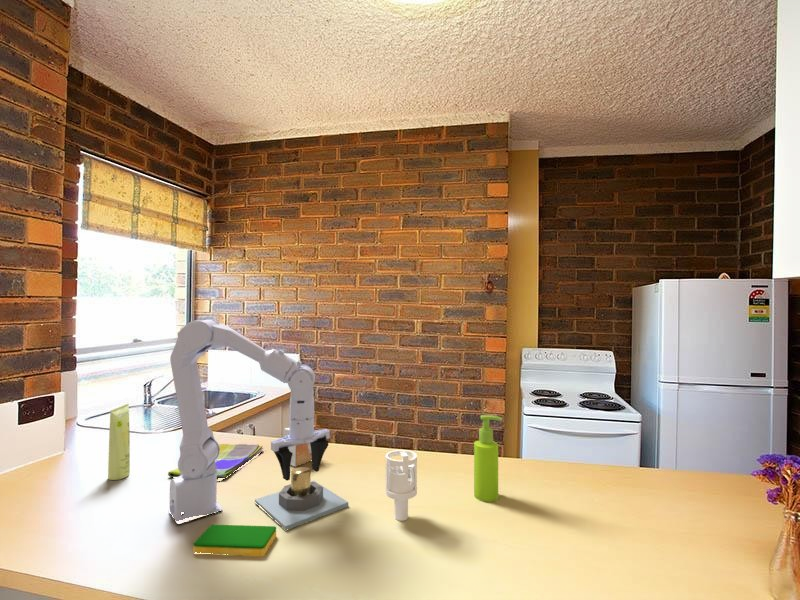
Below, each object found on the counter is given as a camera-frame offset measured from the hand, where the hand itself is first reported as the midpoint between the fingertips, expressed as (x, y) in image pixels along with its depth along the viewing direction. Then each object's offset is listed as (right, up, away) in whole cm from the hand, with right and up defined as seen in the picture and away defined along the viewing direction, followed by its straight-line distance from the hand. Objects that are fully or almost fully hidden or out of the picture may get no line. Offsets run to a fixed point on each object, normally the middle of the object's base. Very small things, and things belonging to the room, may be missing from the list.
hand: (301, 474), depth 97 cm
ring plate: (0, -7, 0) cm, 7 cm away
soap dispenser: (+46, -8, +5) cm, 47 cm away
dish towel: (-31, -8, +26) cm, 41 cm away
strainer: (+24, -7, -6) cm, 26 cm away
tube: (-54, -8, +15) cm, 57 cm away
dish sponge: (-9, -8, -16) cm, 20 cm away
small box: (-7, -8, +27) cm, 29 cm away
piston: (0, -6, 0) cm, 6 cm away
